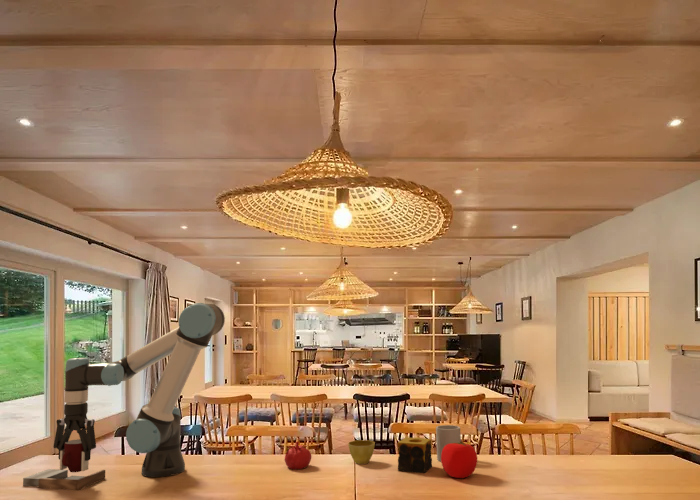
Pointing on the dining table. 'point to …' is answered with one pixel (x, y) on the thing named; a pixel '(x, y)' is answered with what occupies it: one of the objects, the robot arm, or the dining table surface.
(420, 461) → the candle
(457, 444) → the tomato
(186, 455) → the dining table surface
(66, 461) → the mug
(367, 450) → the flower pot
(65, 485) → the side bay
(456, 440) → the cup
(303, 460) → the pomegranate
